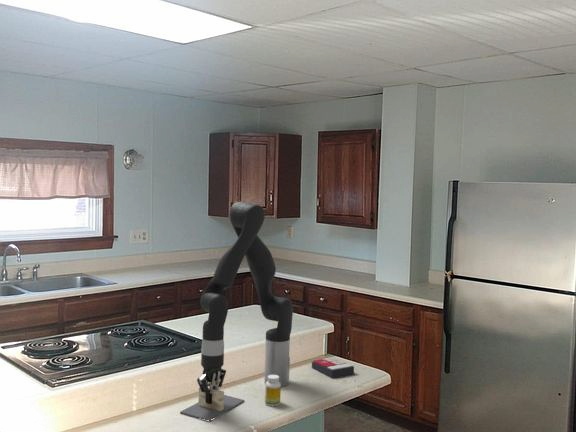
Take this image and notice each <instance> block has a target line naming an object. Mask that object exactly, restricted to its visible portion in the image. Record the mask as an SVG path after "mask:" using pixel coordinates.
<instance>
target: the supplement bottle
mask: <svg viewBox="0 0 576 432" xmlns="http://www.w3.org/2000/svg"><path fill="white" fill-rule="evenodd" d="M267 380H268V381H267V382H266V384H265V383H264V385H265V388H264V390H265V391H264V404H265V405H266V406H268V405H269V406H268V407H277V406H279V405H280V404H281V393H282V392H281V390H282V389H281V388H282V387H281V384H280V382H279V376H278V375H269V376H268V379H267Z"/></svg>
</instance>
